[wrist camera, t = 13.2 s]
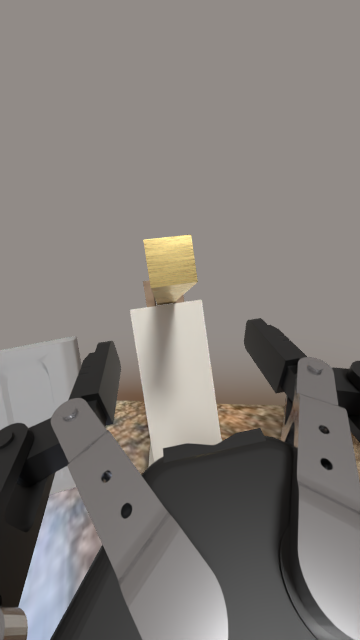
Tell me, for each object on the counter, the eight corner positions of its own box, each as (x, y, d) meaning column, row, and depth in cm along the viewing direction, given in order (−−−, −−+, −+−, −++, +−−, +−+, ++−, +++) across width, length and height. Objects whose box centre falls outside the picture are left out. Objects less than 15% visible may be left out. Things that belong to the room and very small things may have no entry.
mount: (152, 433, 51) (130, 293, 49) (211, 421, 52) (192, 285, 51) (146, 509, 31) (109, 279, 29) (242, 487, 32) (212, 266, 31)
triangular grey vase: (39, 529, 30) (6, 354, 29) (-6, 501, 37) (-34, 357, 35) (123, 445, 47) (105, 333, 46) (83, 436, 54) (65, 337, 53)
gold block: (157, 305, 36) (155, 289, 36) (173, 302, 36) (171, 287, 36) (150, 288, 12) (143, 239, 12) (197, 281, 12) (191, 234, 12)
